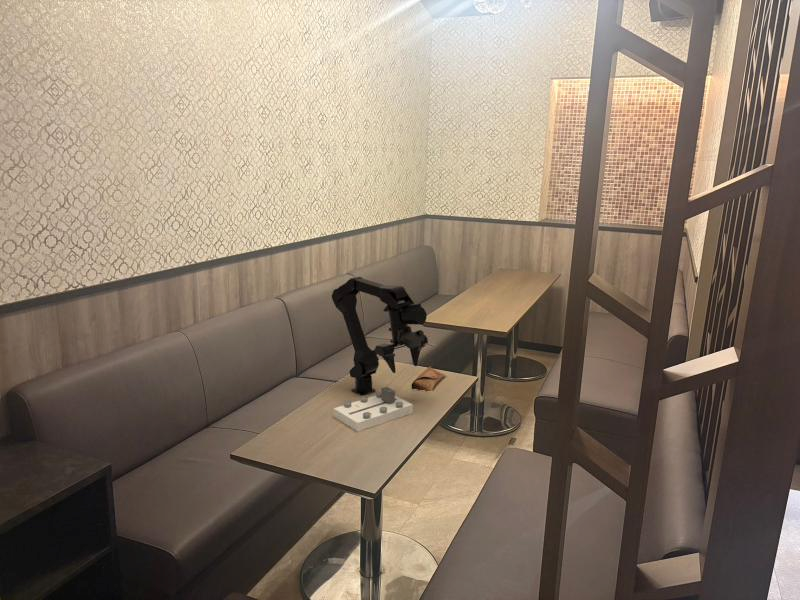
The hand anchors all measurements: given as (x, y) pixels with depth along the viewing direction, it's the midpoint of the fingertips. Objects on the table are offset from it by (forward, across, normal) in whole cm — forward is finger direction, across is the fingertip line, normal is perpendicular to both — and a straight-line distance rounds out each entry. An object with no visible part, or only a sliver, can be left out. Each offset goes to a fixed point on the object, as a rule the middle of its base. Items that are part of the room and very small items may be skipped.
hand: (405, 369), depth 198 cm
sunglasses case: (+12, +20, +13) cm, 27 cm away
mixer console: (+12, -13, +3) cm, 18 cm away
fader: (+9, -7, +2) cm, 12 cm away
